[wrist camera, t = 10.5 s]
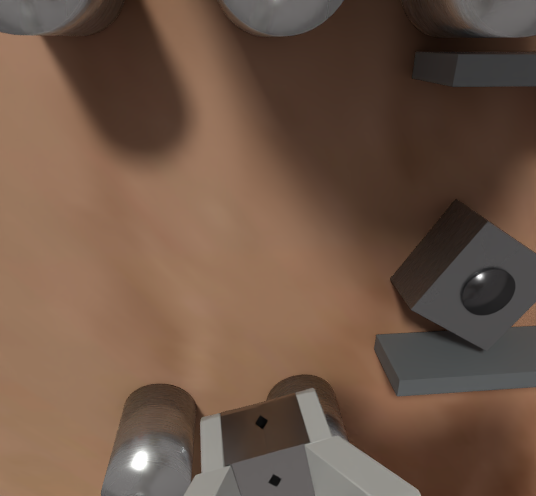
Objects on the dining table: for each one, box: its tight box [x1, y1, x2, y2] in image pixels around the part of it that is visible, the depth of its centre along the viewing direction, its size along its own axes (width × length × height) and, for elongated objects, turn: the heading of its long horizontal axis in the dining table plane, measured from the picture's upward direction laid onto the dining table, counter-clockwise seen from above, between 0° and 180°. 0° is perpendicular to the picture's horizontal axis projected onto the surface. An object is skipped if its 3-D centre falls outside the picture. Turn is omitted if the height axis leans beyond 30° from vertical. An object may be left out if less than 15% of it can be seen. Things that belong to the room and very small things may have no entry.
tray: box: [374, 52, 536, 396], centre depth 19 cm, size 15×12×4 cm
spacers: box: [0, 0, 536, 496], centre depth 18 cm, size 25×18×5 cm
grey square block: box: [390, 199, 536, 351], centre depth 21 cm, size 5×5×3 cm
